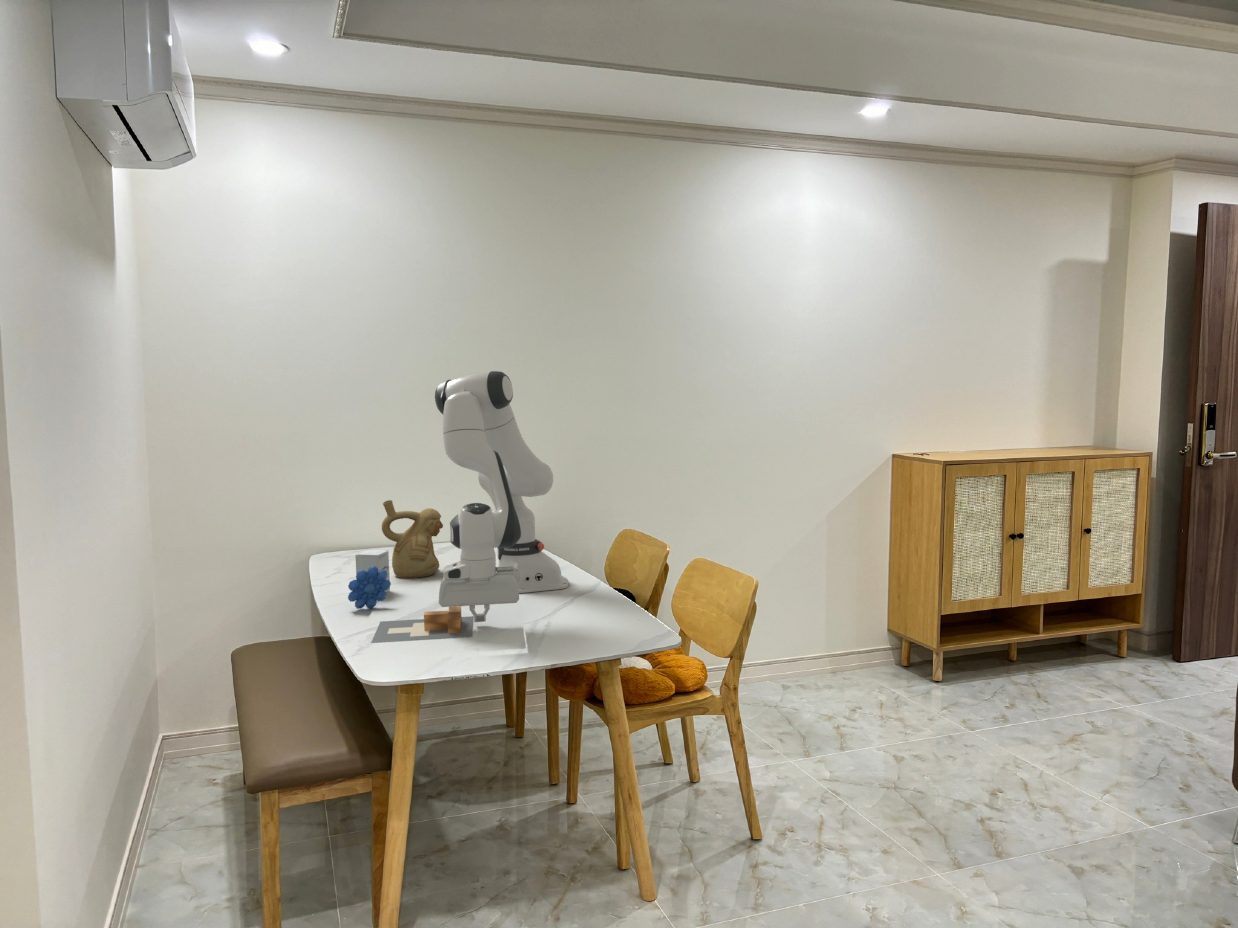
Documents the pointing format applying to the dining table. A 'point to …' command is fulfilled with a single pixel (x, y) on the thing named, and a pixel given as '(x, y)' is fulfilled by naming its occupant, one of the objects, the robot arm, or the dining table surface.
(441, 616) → the t block
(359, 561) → the supplement box
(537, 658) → the dining table surface
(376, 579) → the blue lumpy cluster
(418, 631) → the push board
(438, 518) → the ceramic vessel
